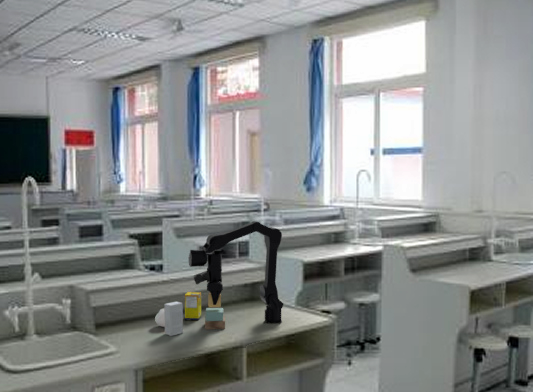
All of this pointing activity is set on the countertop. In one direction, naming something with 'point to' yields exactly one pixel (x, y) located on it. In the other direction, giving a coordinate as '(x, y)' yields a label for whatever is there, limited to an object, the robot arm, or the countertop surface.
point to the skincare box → (173, 318)
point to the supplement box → (192, 305)
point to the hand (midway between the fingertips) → (214, 303)
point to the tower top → (214, 314)
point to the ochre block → (210, 302)
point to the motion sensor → (160, 318)
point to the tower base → (215, 324)
